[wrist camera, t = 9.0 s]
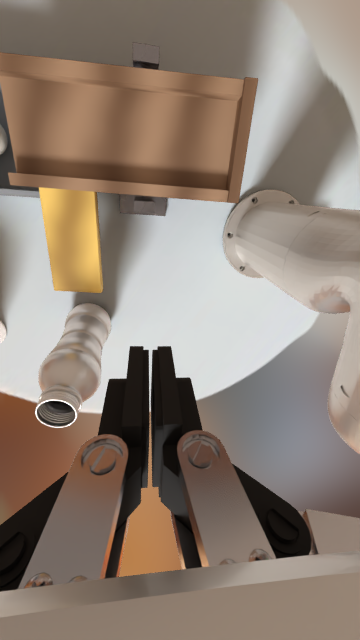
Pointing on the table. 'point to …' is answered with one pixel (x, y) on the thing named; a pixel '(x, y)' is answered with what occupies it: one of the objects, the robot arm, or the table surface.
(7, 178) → the cup
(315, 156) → the table surface
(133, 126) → the lever chute
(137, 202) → the pivot stand
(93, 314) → the plastic bottle
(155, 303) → the table surface
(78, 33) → the table surface
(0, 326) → the beer glass
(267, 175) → the table surface
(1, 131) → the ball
